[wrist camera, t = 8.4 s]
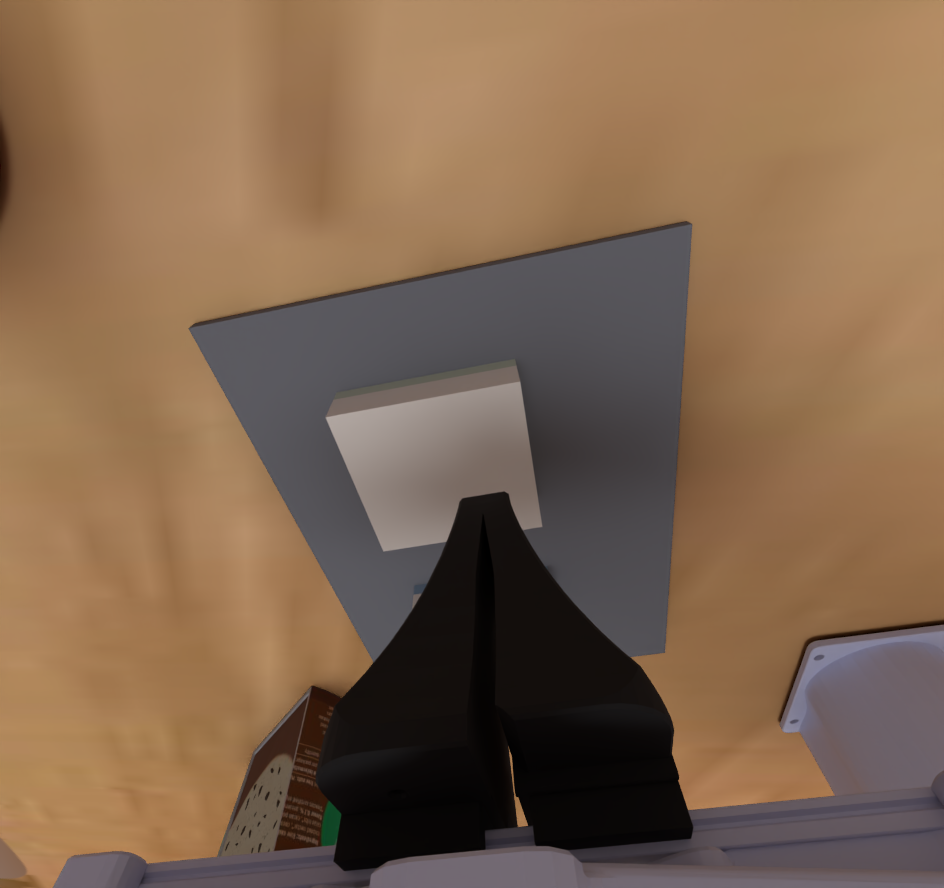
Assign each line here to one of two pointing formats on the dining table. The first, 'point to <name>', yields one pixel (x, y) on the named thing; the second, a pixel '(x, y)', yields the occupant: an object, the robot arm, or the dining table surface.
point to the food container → (286, 786)
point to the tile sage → (436, 450)
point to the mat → (545, 403)
